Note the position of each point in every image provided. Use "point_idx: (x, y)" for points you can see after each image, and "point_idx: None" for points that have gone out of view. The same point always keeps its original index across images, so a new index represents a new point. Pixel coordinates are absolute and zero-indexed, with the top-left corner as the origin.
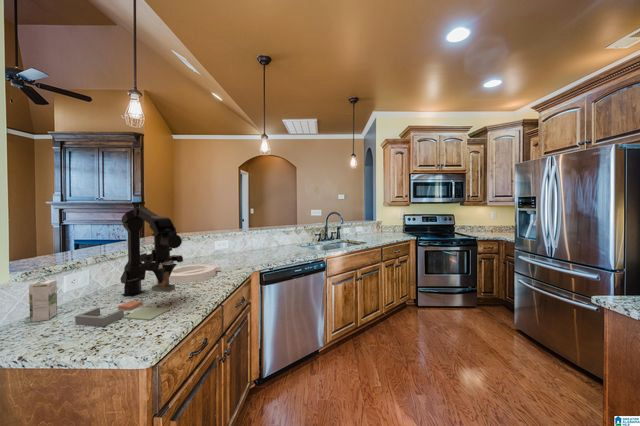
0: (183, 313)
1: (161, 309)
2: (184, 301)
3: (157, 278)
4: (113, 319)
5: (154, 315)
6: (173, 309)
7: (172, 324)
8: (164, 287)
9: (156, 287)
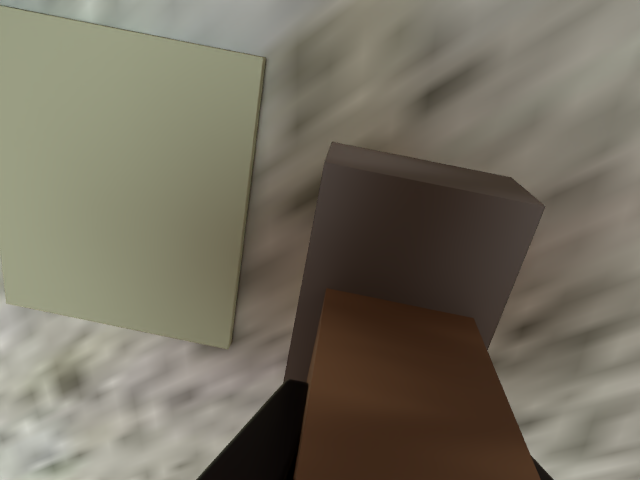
0: (175, 460)
1: (205, 288)
2: None
3: (214, 473)
4: None
5: (74, 299)
6: (245, 366)
7: (6, 460)
8: None
9: (307, 264)
